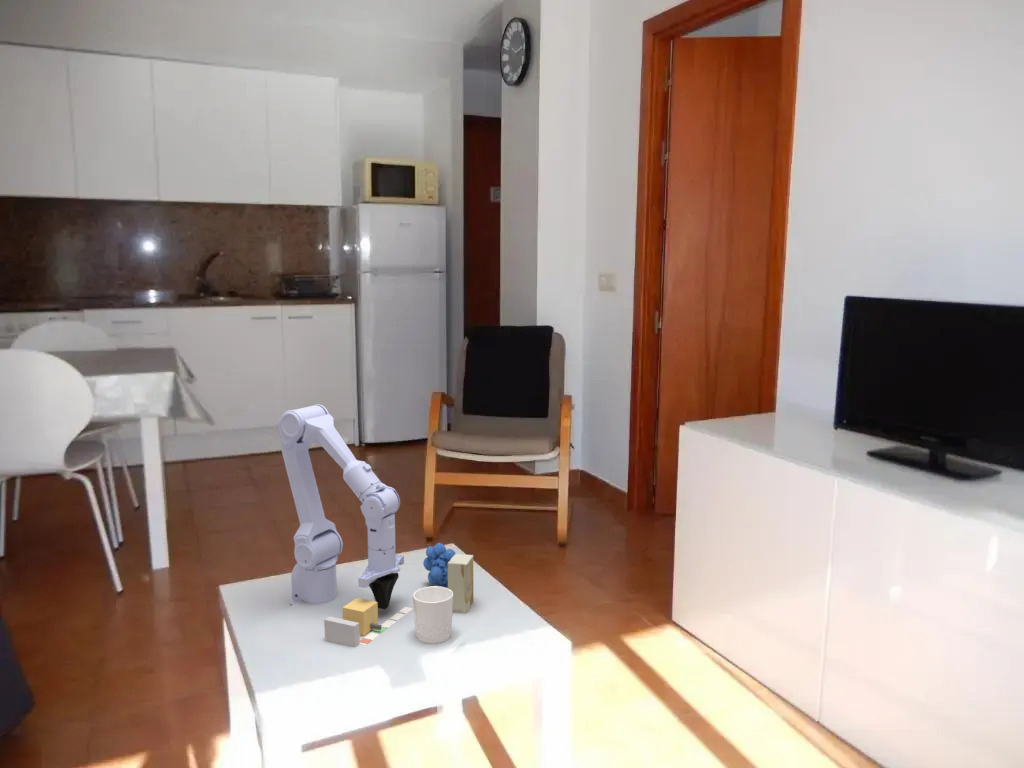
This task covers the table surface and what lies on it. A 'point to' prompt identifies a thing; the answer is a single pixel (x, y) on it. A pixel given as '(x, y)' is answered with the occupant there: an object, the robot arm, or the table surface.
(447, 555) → the grapes
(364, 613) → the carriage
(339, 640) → the gauge track
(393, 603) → the table surface
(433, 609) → the white cup
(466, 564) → the skincare box
